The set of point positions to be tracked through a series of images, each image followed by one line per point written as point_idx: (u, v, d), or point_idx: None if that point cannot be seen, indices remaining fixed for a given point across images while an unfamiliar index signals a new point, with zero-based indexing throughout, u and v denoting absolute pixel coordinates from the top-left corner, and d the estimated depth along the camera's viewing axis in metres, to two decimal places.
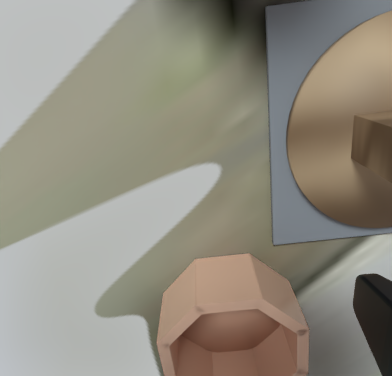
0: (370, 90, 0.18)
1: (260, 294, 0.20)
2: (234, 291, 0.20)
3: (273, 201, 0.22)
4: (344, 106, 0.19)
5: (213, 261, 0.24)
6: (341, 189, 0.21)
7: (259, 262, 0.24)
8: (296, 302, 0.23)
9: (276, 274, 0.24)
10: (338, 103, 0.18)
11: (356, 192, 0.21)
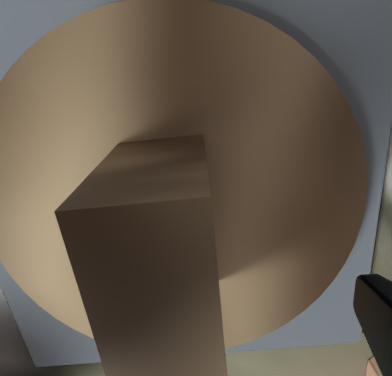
0: None
1: None
2: None
3: (283, 347, 0.15)
4: None
5: None
6: (271, 285, 0.12)
7: None
8: None
9: None
10: None
11: (280, 264, 0.12)
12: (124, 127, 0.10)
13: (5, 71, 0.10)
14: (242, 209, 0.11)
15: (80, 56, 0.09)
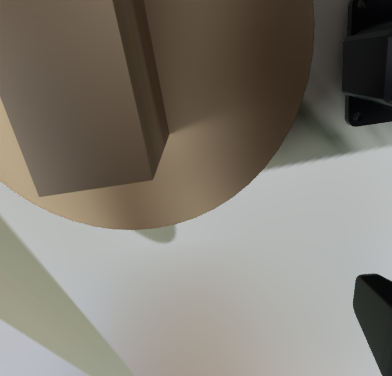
0: None
1: None
2: None
3: None
4: None
5: None
6: (226, 137, 0.12)
7: None
8: None
9: None
10: None
11: (232, 109, 0.11)
12: None
13: None
14: (185, 41, 0.11)
15: None
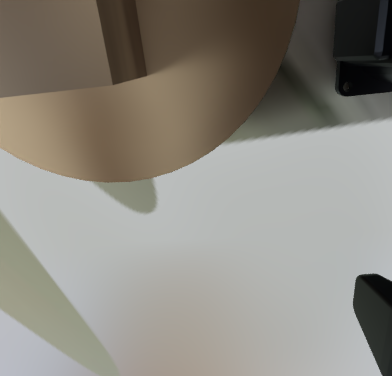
0: None
1: None
2: None
3: None
4: (61, 103, 0.11)
5: None
6: (207, 83, 0.11)
7: None
8: None
9: None
10: (58, 114, 0.12)
11: (215, 51, 0.11)
12: None
13: None
14: None
15: None
